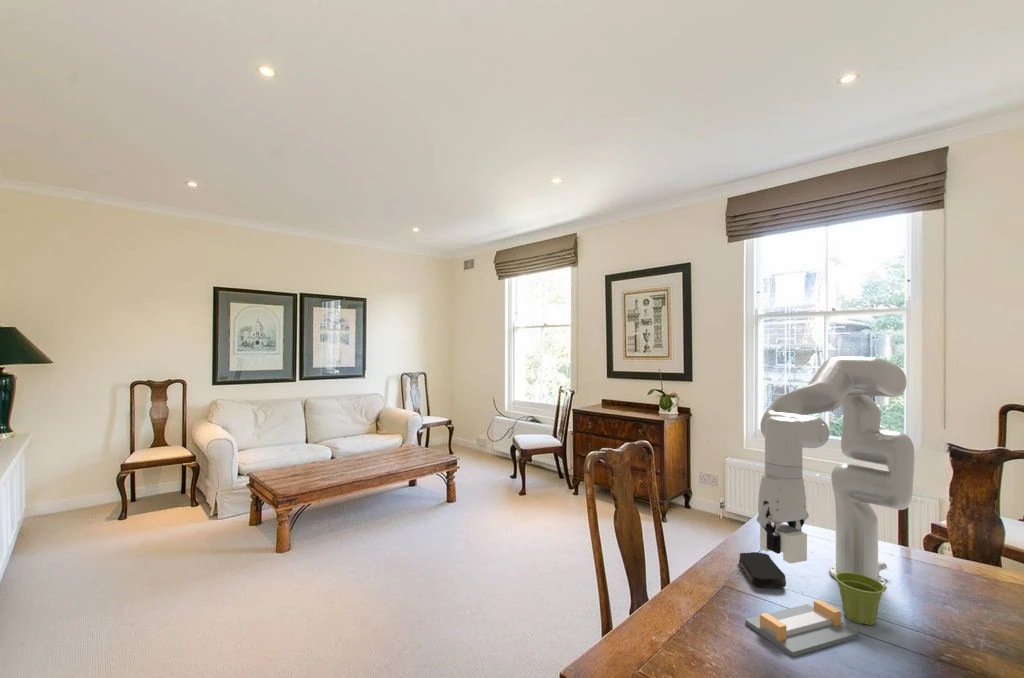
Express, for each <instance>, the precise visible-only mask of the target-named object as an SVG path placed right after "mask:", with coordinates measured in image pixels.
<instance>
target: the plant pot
mask: <svg viewBox="0 0 1024 678" xmlns="http://www.w3.org/2000/svg"><path fill="white" fill-rule="evenodd" d="M834 579H835V580H836V583H837V586H838V588H839V593H840V599H841V605H842V611H843V614H844V615H845V617H846V618H847V619H849V620H851V621H852V622H855V623H857V624H859V625H860V624H861V625H862V624H864V625H867V626H873V625H875V624H876V623H877V620H878V619H877V618H878V613H879V606H880V600H881V597H882V596H883V595H882V594H883V593H884V592H885V589H886V587H885V588H884V586H883V585H882V584H881V583H880V582H878V581H876V580H874V579H872V578H870V577H867V576H864V575H861V574H857V573H851V572H840V573H837V574H836V575H835V578H834Z"/></svg>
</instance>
